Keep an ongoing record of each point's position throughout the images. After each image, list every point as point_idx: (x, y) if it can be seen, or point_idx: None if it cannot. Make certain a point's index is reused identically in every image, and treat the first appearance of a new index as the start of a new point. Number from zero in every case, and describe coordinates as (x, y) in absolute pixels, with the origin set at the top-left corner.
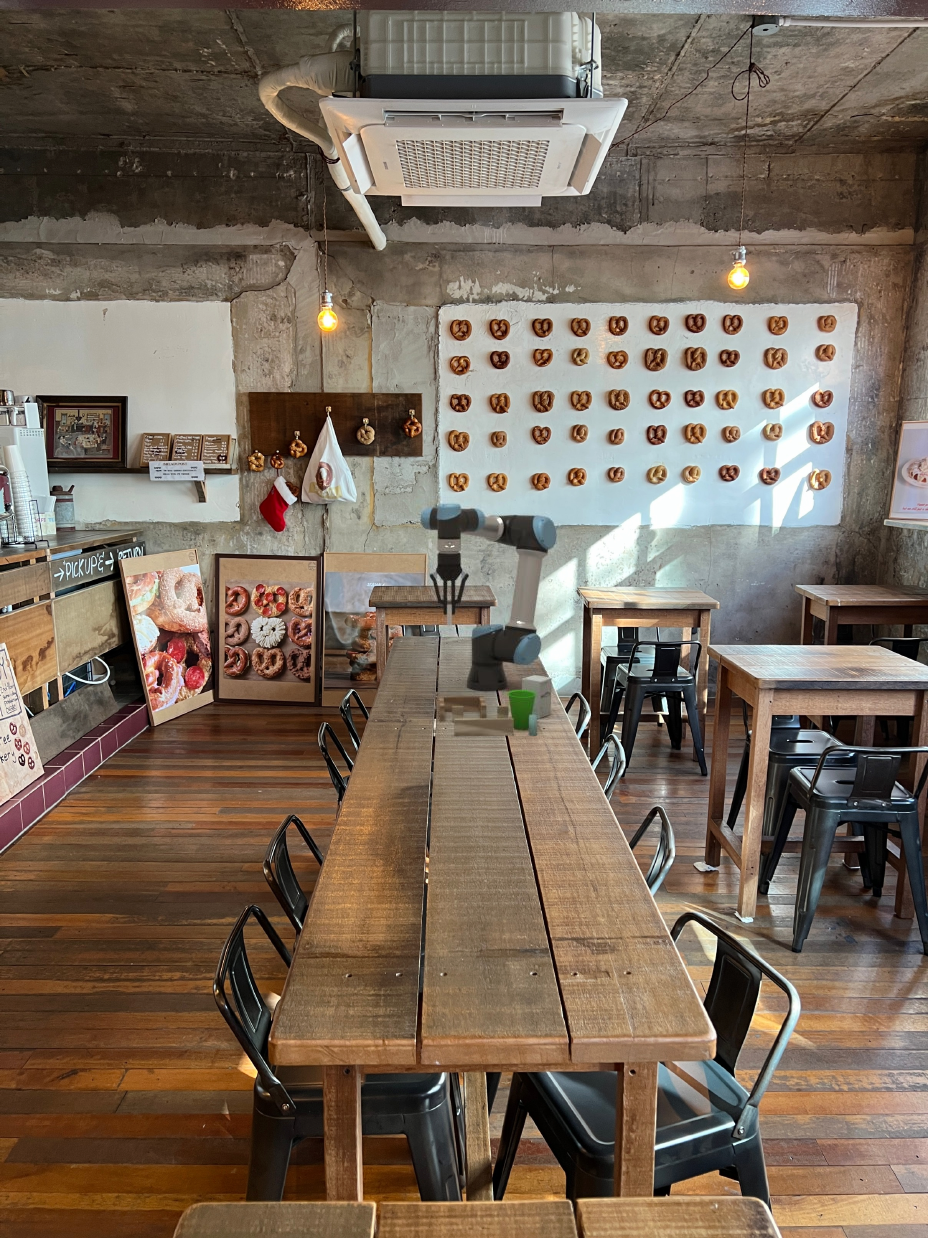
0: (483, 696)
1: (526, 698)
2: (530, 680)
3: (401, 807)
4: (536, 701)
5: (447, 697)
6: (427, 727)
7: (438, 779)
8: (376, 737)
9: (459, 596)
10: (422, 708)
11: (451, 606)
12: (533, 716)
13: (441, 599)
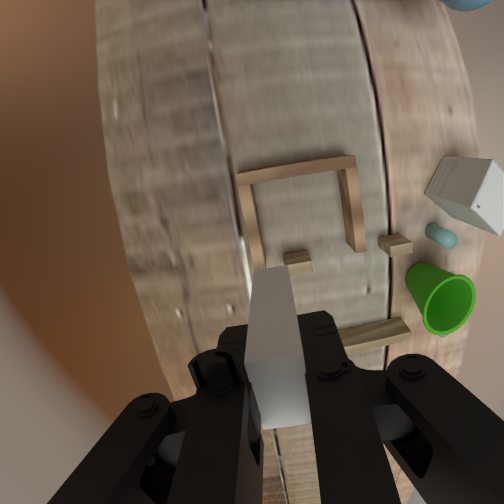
0: (355, 160)
1: (451, 328)
2: (484, 221)
3: (263, 500)
4: (467, 221)
5: (260, 181)
6: (237, 301)
7: (289, 467)
8: (164, 360)
9: (424, 473)
10: (195, 156)
11: (309, 415)
12: (444, 336)
13: (177, 442)
